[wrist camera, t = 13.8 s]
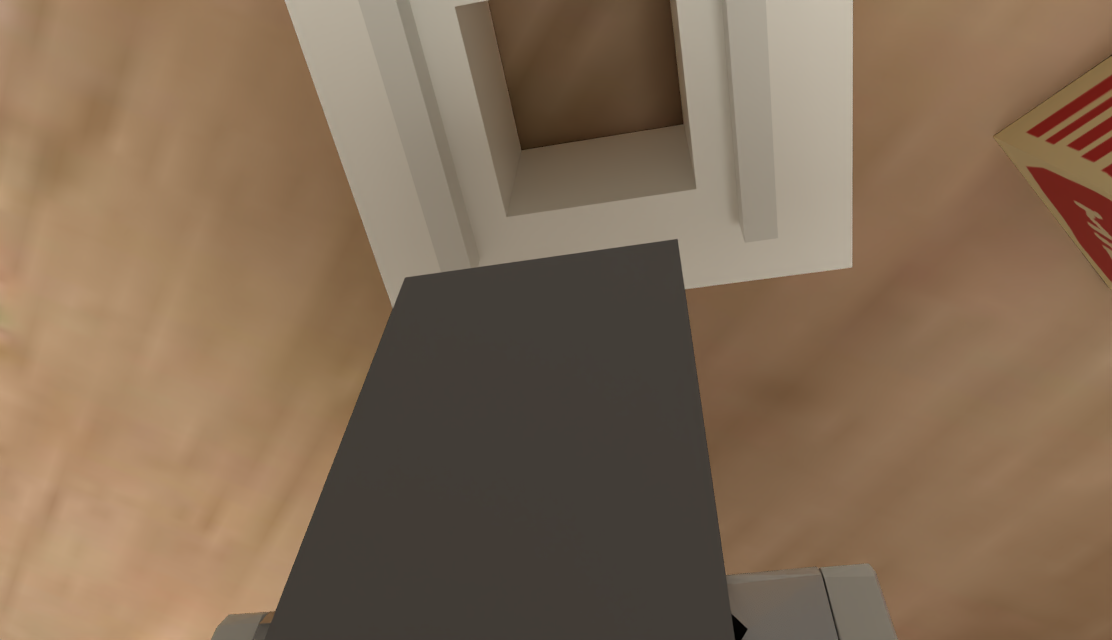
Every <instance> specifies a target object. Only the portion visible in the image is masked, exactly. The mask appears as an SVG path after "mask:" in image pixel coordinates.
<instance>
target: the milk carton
mask: <svg viewBox="0 0 1112 640" xmlns="http://www.w3.org/2000/svg"><path fill="white" fill-rule="evenodd" d="M993 137H994V139H995V140H996V141H997V143H998V144H999V145H1000V146H1001V148H1002V149H1003V150H1004V152H1005V153H1006V154H1007V156H1008V157H1009V158H1010V159H1011V161H1012V162H1013V163H1014V165H1015V166H1016V167H1017V169H1018V170H1019V171H1020V173H1021V174H1022V175H1023V176H1024V178H1025V179H1026V180H1027V182H1028V183H1029V184H1030V186H1031V187H1032V188H1033V189H1034V191H1035V192H1036V193H1037V195H1038V196H1039V197H1040V199H1041V200H1042V201H1043V203H1044V204H1045V205H1046V206H1047V208H1048V209H1049V210H1050V212H1051V213H1052V214H1053V216H1054V217H1055V218H1056V219H1057V221H1058V222H1059V223H1060V225H1061V226H1062V227H1063V229H1064V230H1065V231H1066V232H1067V234H1068V235H1069V236H1070V238H1071V239H1072V240H1073V241H1074V243H1075V244H1076V245H1077V247H1078V248H1079V249H1080V251H1081V252H1082V253H1083V254H1084V256H1085V257H1086V258H1087V260H1088V261H1089V262H1090V263H1091V265H1092V266H1093V267H1094V269H1095V270H1096V271H1097V273H1098V274H1099V275H1100V276H1101V278H1102V279H1103V280H1104V282H1105V283H1106V284H1107V285H1108V287H1109V288H1110V289H1111V290H1112V56H1110V57H1109V58H1107V59H1106V60H1105V61H1103V62H1102V63H1100V64H1099V65H1097V66H1096V67H1094V68H1093V69H1091V70H1090V71H1088V72H1087V73H1086V74H1084V75H1083V76H1081V77H1080V78H1078V79H1077V80H1075V81H1074V82H1072V83H1071V84H1069V85H1068V86H1066V87H1065V88H1064V89H1062V90H1061V91H1059V92H1058V93H1056V94H1055V95H1053V96H1052V97H1050V98H1049V99H1047V100H1046V101H1044V102H1043V103H1042V104H1040V105H1039V106H1037V107H1036V108H1034V109H1033V110H1031V111H1030V112H1028V113H1027V114H1025V115H1024V116H1023V117H1021V118H1020V119H1018V120H1017V121H1015V122H1014V123H1012V124H1011V125H1009V126H1008V127H1006V128H1005V129H1003V130H1002V131H1001V132H999V133H998V134H996V135H995V136H993Z"/></svg>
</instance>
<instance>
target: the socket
mask: <svg viewBox="0 0 1112 640" xmlns="http://www.w3.org/2000/svg"><path fill="white" fill-rule="evenodd" d="M285 3H286V5H287V8H288V11H289V14H290V17H291V20H292V23H293V25H294V28H295V31H296V34H297V37H298V40H299V43H300V45H301V48H302V51H303V54H304V57H305V60H306V63H307V65H308V68H309V71H310V74H311V77H312V80H313V83H314V85H315V88H316V91H317V94H318V97H319V100H320V102H321V105H322V108H323V111H324V114H325V117H326V120H327V122H328V125H329V128H330V131H331V134H332V137H333V140H334V142H335V145H336V148H337V151H338V154H339V157H340V160H341V162H342V165H343V168H344V171H345V174H346V177H347V179H348V182H349V185H350V188H351V191H352V194H353V197H354V199H355V202H356V205H357V208H358V211H359V214H360V217H361V219H362V222H363V225H364V228H365V231H366V234H367V237H368V239H369V242H370V245H371V248H372V251H373V254H374V257H375V259H376V262H377V265H378V268H379V271H380V274H381V276H382V279H383V282H384V285H385V288H386V291H387V294H388V296H389V299H390V302H391V305H392V308H393V307H394V304H395V302H396V299H397V297H398V294H399V291H400V289H401V286H402V284H403V281H404V279H405V277H412V276H419V275H426V274H433V273H440V272H447V271H454V270H461V269H468V268H475V267H482V266H489V265H496V264H503V263H511V262H518V261H525V260H532V259H539V258H546V257H553V256H560V255H567V254H574V253H581V252H588V251H595V250H602V249H609V248H617V247H624V246H631V245H638V244H645V243H652V242H659V241H666V240H673V239H678V245H679V252H680V259H681V266H682V273H683V280H684V287H685V289H691V288H699V287H706V286H714V285H722V284H729V283H737V282H744V281H752V280H760V279H767V278H775V277H783V276H790V275H798V274H806V273H813V272H821V271H828V270H836V269H844V268H851V267H852V163H853V0H670V6H671V15H672V24H673V33H674V42H675V51H676V60H677V69H678V78H679V87H680V96H681V105H682V114H683V123H684V124H683V125H676V126H670V127H664V128H658V129H651V130H645V131H639V132H633V133H626V134H620V135H614V136H608V137H601V138H595V139H589V140H582V141H576V142H570V143H564V144H557V145H551V146H545V147H539V148H532V149H526V150H521V146H520V142H519V137H518V133H517V128H516V124H515V120H514V115H513V111H512V106H511V102H510V97H509V93H508V88H507V84H506V79H505V75H504V71H503V66H502V62H501V57H500V53H499V48H498V44H497V39H496V35H495V30H494V26H493V21H492V17H491V13H490V8H489V4H488V0H285Z"/></svg>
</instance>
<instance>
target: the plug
mask: <svg viewBox="0 0 1112 640" xmlns="http://www.w3.org/2000/svg"><path fill="white" fill-rule="evenodd" d="M264 640H735V637H734V630H733V623H732V616H731V609H730V602H729V595H728V588H727V581H726V574H725V567H724V560H723V553H722V546H721V539H720V532H719V525H718V518H717V511H716V504H715V497H714V490H713V483H712V476H711V469H710V462H709V455H708V448H707V441H706V434H705V427H704V420H703V413H702V406H701V399H700V392H699V385H698V378H697V371H696V364H695V357H694V350H693V343H692V336H691V329H690V322H689V315H688V308H687V301H686V294H685V287H684V280H683V273H682V266H681V259H680V252H679V245H678V239H673V240H666V241H659V242H652V243H645V244H638V245H631V246H624V247H617V248H609V249H602V250H595V251H588V252H581V253H574V254H567V255H560V256H553V257H546V258H539V259H532V260H525V261H518V262H511V263H503V264H496V265H489V266H482V267H475V268H468V269H461V270H454V271H447V272H440V273H433V274H426V275H419V276H412V277H405V279H404V281H403V284H402V286H401V289H400V291H399V294H398V297H397V299H396V302H395V304H394V307H393V309H392V312H391V315H390V317H389V320H388V322H387V325H386V328H385V330H384V333H383V335H382V338H381V340H380V343H379V346H378V348H377V351H376V353H375V356H374V358H373V361H372V364H371V366H370V369H369V371H368V374H367V377H366V379H365V382H364V384H363V387H362V389H361V392H360V395H359V397H358V400H357V402H356V405H355V407H354V410H353V413H352V415H351V418H350V420H349V423H348V425H347V428H346V431H345V433H344V436H343V438H342V441H341V444H340V446H339V449H338V451H337V454H336V456H335V459H334V462H333V464H332V467H331V469H330V472H329V474H328V477H327V480H326V482H325V485H324V487H323V490H322V492H321V495H320V498H319V500H318V503H317V505H316V508H315V511H314V513H313V516H312V518H311V521H310V523H309V526H308V529H307V531H306V534H305V536H304V539H303V541H302V544H301V547H300V549H299V552H298V554H297V557H296V560H295V562H294V565H293V567H292V570H291V572H290V575H289V578H288V580H287V583H286V585H285V588H284V590H283V593H282V596H281V598H280V601H279V603H278V606H277V608H276V611H275V614H274V616H273V619H272V621H271V624H270V627H269V629H268V632H267V634H266V637H265V639H264Z"/></svg>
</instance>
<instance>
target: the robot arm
mask: <svg viewBox="0 0 1112 640" xmlns="http://www.w3.org/2000/svg"><path fill="white" fill-rule="evenodd" d="M726 581H727V588H728V595H729V602H730V609H731V616H732V623H733V630H734V637H735V640H898V638H897V635H896V632H895V629H894V626H893V623H892V620H891V617H890V614H889V611H888V608H887V605H886V602H885V599H884V596H883V593H882V590H881V587H880V584H879V581H878V578H877V574H876V572H875V571H874V569H873V568H872V567H871V566H870V564H868V563H866V564H855V565H843V566H831V567H820V568H819V569H818V568H817V567H807V568H796V569H786V570H775V571H765V572H754V573H744V574H733V575H726ZM274 614H275V611H274V612H259V613H245V614H231V615H228V616H227V617H226V618H225V619H224V620H223V621H222V622H221V623H220V624H219V625H218V627H217V628H216V630H215V632H214V634H213V636H212V638H211V640H264V639H265V637H266V634H267V632H268V629H269V627H270V624H271V621H272V619H273V616H274Z"/></svg>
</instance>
